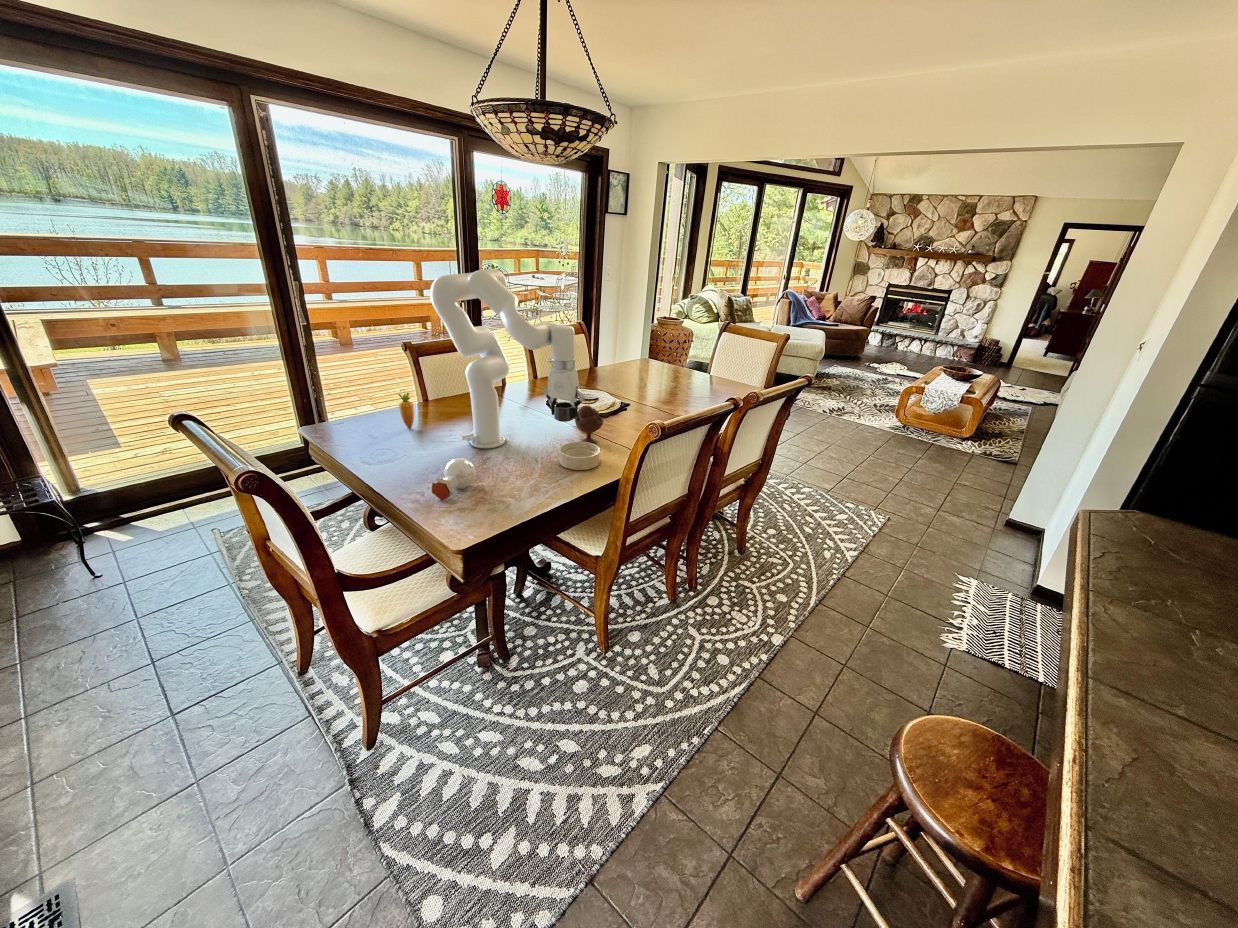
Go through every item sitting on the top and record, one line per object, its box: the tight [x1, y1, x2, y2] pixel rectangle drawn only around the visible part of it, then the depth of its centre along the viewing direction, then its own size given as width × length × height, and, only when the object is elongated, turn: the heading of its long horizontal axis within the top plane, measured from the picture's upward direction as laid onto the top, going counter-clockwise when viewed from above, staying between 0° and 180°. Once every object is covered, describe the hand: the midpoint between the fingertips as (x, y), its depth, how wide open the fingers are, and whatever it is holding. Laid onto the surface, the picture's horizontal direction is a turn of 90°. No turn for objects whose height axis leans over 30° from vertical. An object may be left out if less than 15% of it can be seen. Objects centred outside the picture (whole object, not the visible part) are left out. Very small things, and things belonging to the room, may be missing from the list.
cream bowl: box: [558, 440, 601, 471], centre depth 168 cm, size 14×14×5 cm
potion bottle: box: [431, 457, 477, 501], centre depth 145 cm, size 9×10×15 cm
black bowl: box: [553, 401, 574, 423], centre depth 164 cm, size 7×7×5 cm
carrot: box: [397, 391, 415, 430], centre depth 186 cm, size 5×5×15 cm
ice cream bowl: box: [574, 404, 604, 445], centre depth 183 cm, size 11×11×15 cm
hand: (564, 415), depth 165 cm, fingers closed on black bowl, 7 cm apart
